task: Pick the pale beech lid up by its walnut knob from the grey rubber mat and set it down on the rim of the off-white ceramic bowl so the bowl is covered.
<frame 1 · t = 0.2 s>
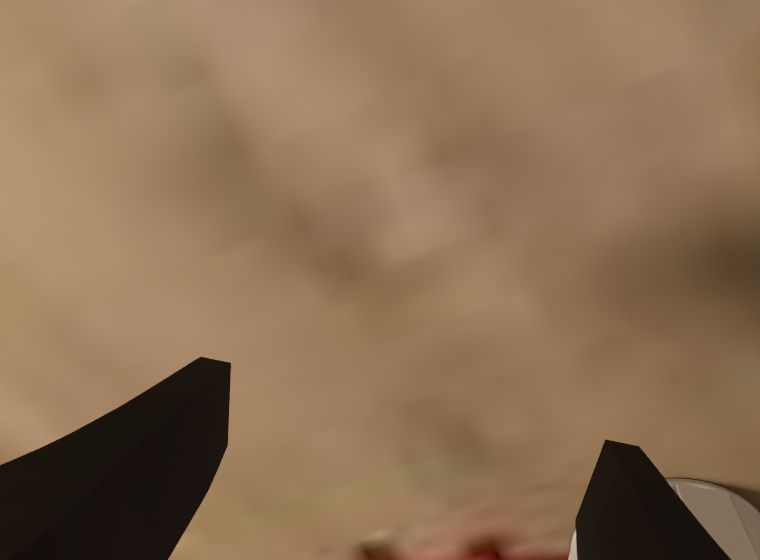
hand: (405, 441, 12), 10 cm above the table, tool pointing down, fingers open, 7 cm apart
bowl: (668, 552, 25), on the table
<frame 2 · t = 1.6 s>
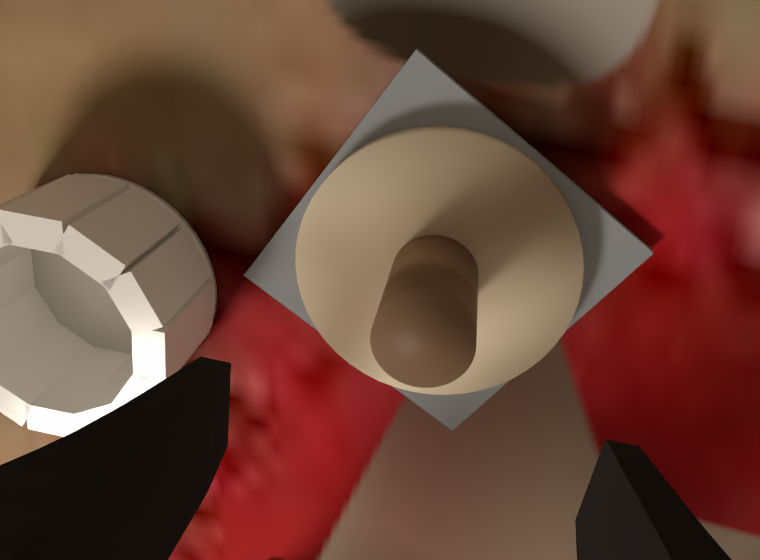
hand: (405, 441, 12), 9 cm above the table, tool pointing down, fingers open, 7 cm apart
bowl: (114, 277, 22), on the table
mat: (437, 259, 20), on the table
lid: (436, 264, 20), resting on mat
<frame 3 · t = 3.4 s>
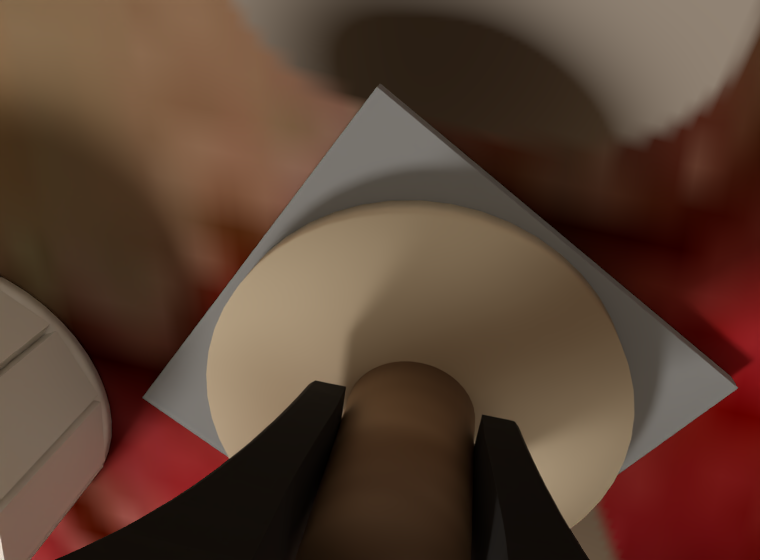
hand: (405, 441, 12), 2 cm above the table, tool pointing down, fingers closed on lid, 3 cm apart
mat: (416, 382, 14), on the table
lid: (414, 393, 14), resting on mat, touching gripper
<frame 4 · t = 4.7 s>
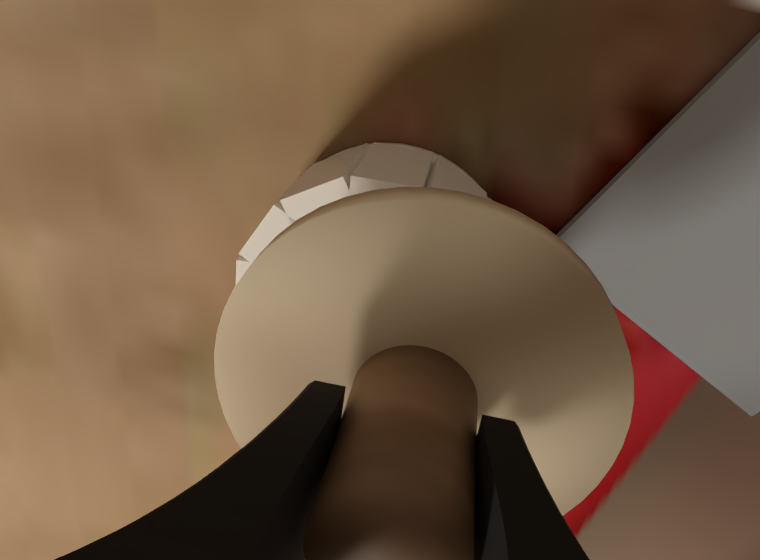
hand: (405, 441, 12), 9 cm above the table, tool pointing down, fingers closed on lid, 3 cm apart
bowl: (389, 256, 21), on the table
lid: (417, 377, 14), point 7 cm above the table, touching gripper
when the fingers open (7 cm above the table, at t = 6.0 s): lid stays where it is, resting on bowl.
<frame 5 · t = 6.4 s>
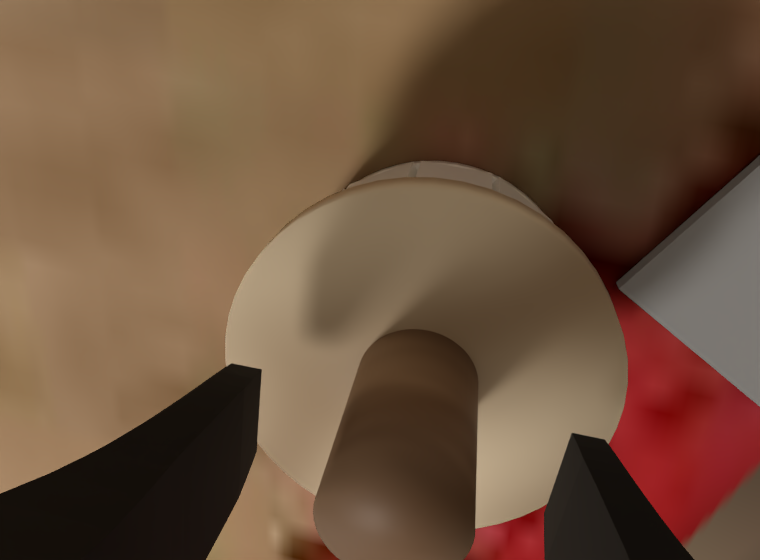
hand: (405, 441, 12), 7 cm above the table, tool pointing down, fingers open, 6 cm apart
bowl: (432, 290, 18), on the table
lid: (420, 361, 15), point 4 cm above the table, touching bowl
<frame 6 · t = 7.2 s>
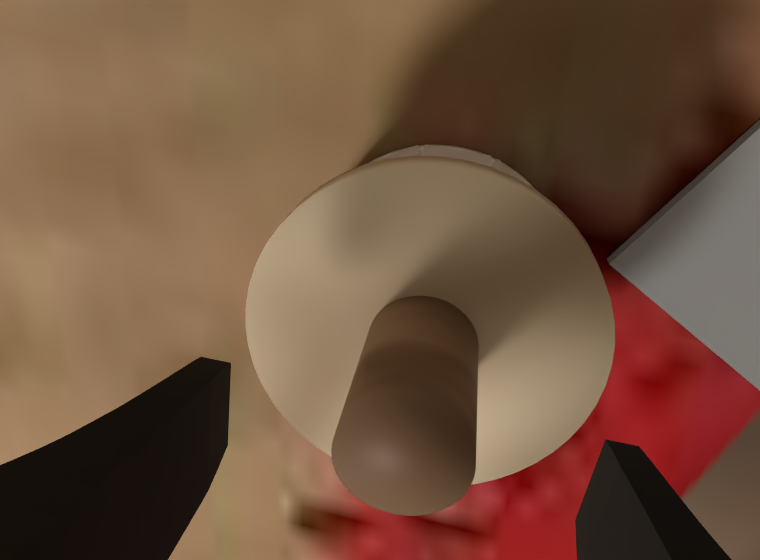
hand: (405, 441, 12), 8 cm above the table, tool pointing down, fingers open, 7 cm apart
bowl: (435, 267, 19), on the table
lid: (425, 328, 16), point 4 cm above the table, touching bowl
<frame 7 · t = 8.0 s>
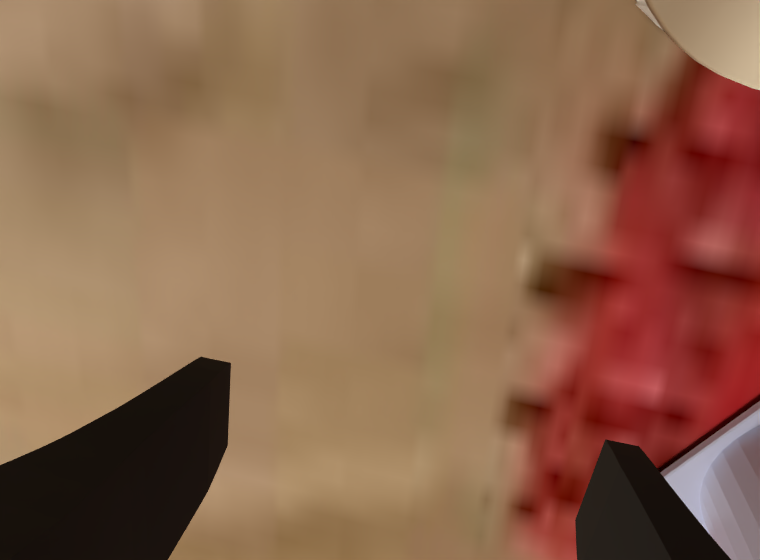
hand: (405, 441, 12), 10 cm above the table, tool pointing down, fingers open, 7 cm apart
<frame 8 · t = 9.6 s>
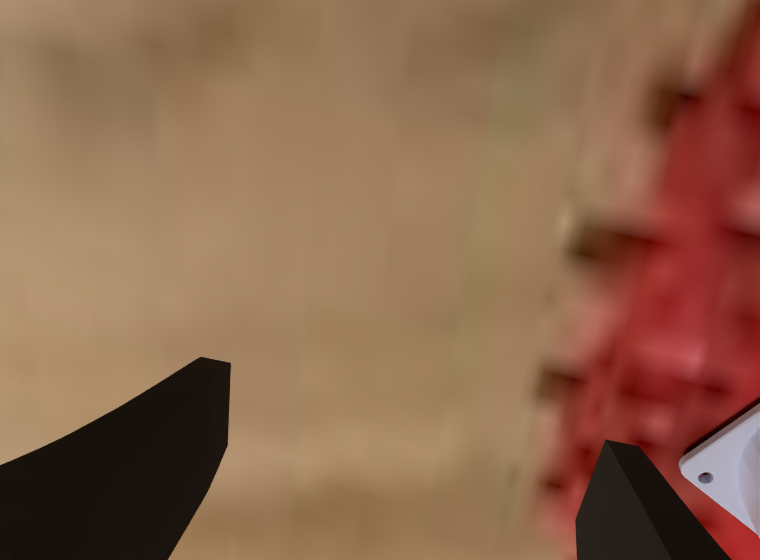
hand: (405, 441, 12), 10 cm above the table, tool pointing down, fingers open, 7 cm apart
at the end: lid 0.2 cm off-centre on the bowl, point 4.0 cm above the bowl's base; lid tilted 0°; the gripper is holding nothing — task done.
